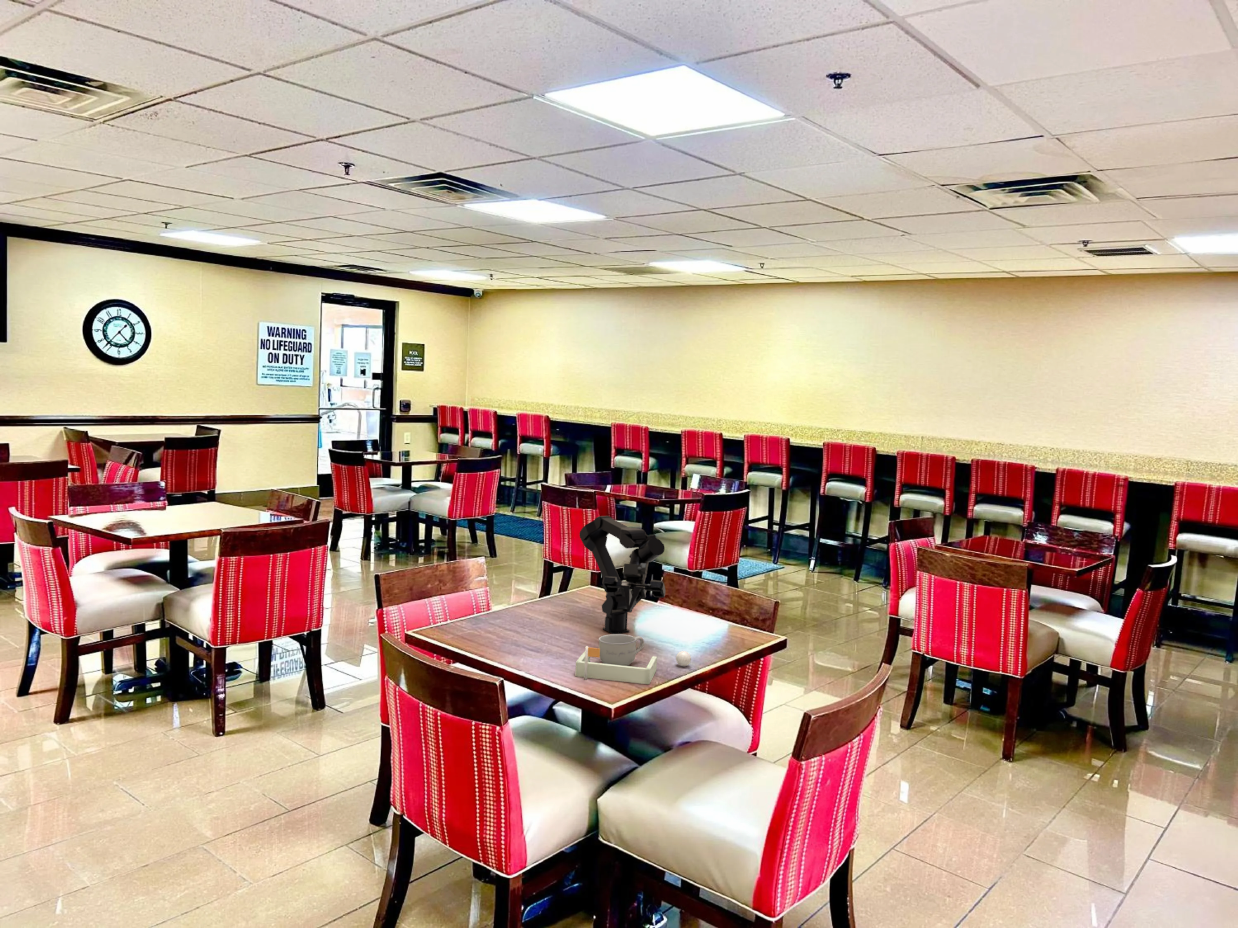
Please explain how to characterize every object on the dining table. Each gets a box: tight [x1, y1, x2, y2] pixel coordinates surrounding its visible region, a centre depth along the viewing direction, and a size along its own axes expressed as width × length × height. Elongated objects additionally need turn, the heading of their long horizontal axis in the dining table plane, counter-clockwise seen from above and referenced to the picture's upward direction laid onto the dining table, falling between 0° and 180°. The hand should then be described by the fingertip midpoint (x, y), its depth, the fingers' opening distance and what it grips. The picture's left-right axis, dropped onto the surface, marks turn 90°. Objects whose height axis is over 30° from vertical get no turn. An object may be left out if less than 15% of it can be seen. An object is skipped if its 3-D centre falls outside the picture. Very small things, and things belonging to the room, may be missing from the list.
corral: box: [574, 645, 658, 685], centre depth 241 cm, size 14×20×9 cm
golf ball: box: [675, 650, 692, 667], centre depth 251 cm, size 4×4×4 cm
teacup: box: [598, 633, 645, 666], centre depth 250 cm, size 14×11×8 cm
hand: (628, 611), depth 260 cm, fingers closed
